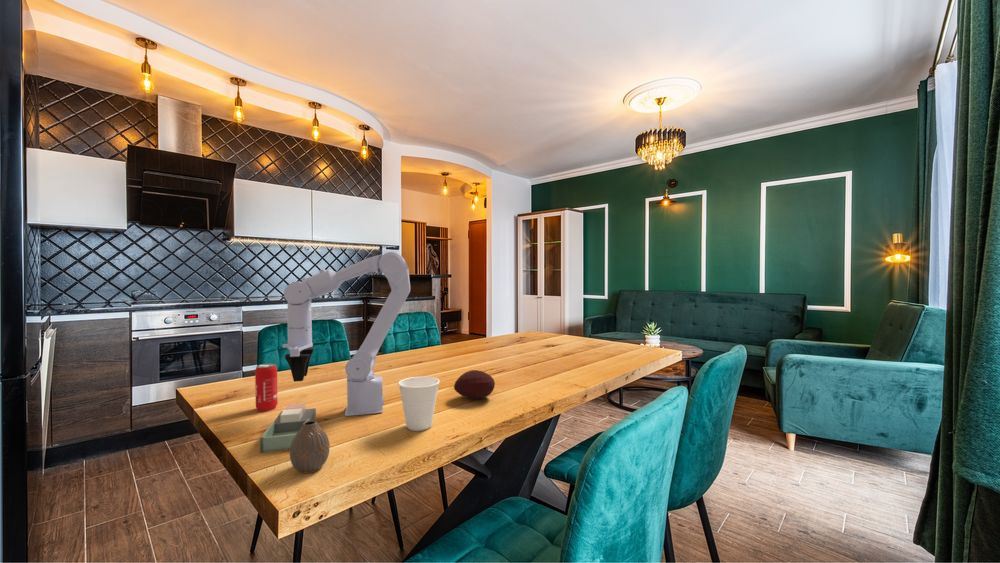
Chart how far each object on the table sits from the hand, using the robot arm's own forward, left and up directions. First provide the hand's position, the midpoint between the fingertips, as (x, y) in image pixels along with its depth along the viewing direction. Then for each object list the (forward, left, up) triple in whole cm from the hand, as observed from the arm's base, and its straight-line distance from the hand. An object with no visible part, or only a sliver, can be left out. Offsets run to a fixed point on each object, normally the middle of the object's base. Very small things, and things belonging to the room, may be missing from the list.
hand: (300, 378), depth 106 cm
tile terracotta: (0, +7, -7) cm, 10 cm away
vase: (-7, +33, -10) cm, 35 cm away
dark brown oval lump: (-47, +1, -10) cm, 48 cm away
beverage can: (+10, -7, -10) cm, 15 cm away
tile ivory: (0, +11, -7) cm, 13 cm away
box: (0, +18, -9) cm, 21 cm away
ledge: (0, +9, -9) cm, 13 cm away
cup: (-29, +18, -10) cm, 36 cm away
